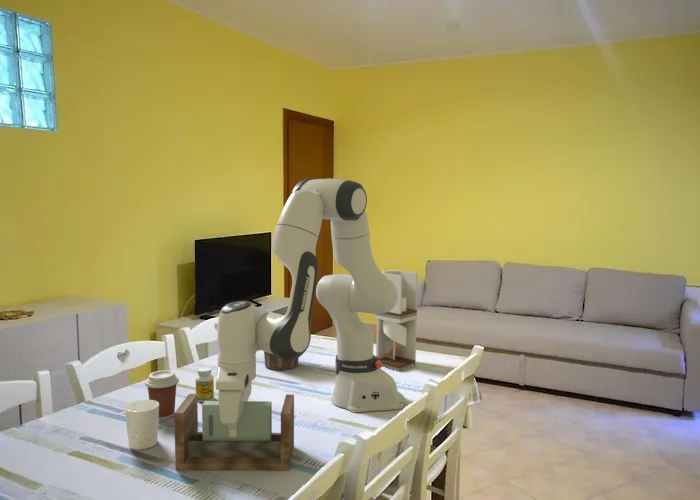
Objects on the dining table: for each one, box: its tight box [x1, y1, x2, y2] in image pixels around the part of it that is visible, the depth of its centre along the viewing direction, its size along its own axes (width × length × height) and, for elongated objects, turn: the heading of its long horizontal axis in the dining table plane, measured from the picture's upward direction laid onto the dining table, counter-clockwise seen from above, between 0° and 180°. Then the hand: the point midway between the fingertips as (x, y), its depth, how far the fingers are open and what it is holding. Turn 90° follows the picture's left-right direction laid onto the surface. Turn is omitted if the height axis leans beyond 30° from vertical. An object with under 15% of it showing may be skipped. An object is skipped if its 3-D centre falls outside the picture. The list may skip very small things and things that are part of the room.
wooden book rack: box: [173, 393, 295, 472], centre depth 129 cm, size 26×12×14 cm, turn 91°
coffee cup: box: [144, 370, 180, 421], centre depth 154 cm, size 9×9×12 cm
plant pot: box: [263, 351, 300, 371], centre depth 200 cm, size 16×16×16 cm
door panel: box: [201, 400, 273, 441], centre depth 129 cm, size 16×3×12 cm, turn 91°
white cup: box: [125, 399, 160, 451], centre depth 136 cm, size 8×8×10 cm
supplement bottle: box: [195, 366, 215, 403], centre depth 166 cm, size 5×5×10 cm
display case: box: [374, 269, 419, 372], centre depth 202 cm, size 11×11×35 cm
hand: (237, 427), depth 129 cm, fingers open, 8 cm apart
